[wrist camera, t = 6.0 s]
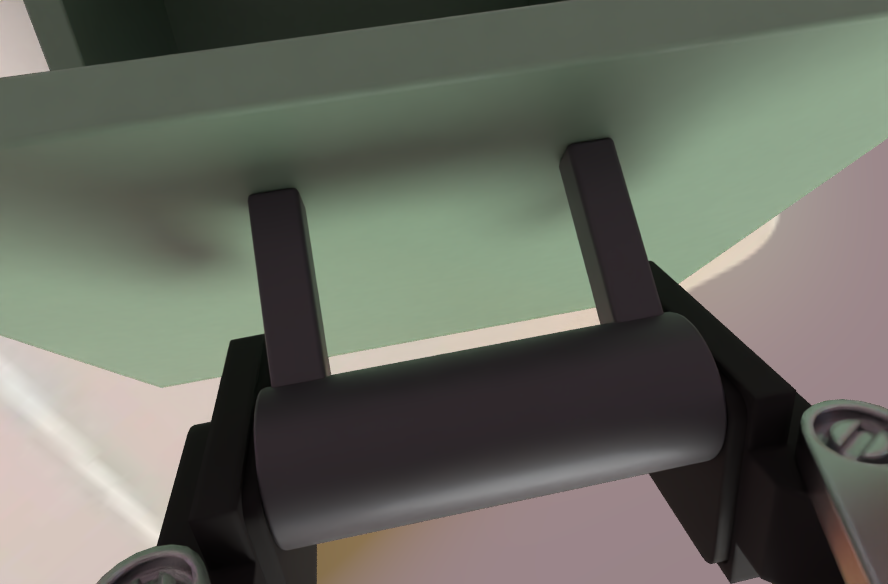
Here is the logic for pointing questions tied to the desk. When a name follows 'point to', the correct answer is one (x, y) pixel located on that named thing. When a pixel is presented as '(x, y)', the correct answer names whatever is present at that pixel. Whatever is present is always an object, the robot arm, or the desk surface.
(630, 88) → the chest lid
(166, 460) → the desk surface
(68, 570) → the desk surface
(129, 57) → the chest
